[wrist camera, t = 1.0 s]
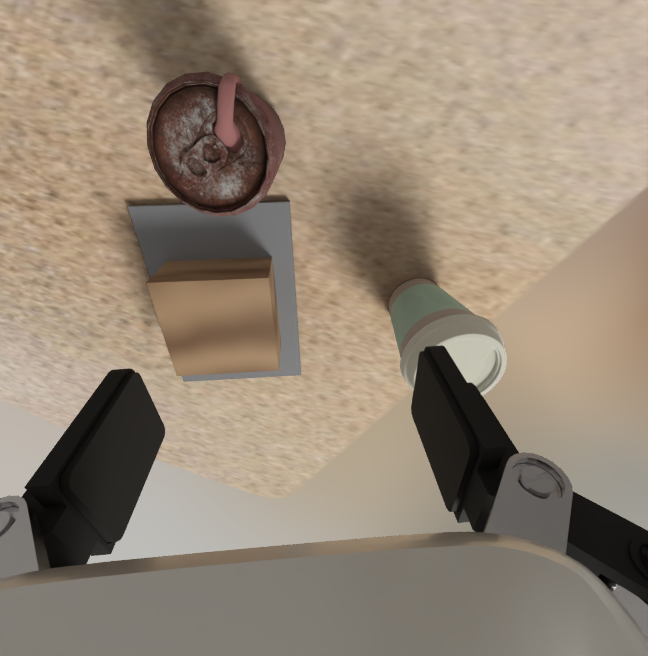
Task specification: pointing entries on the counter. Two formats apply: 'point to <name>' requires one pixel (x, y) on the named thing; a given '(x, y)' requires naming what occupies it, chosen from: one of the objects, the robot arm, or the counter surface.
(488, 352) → the coffee cup
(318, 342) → the counter surface
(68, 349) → the counter surface
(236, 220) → the mat
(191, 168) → the can
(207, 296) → the block
